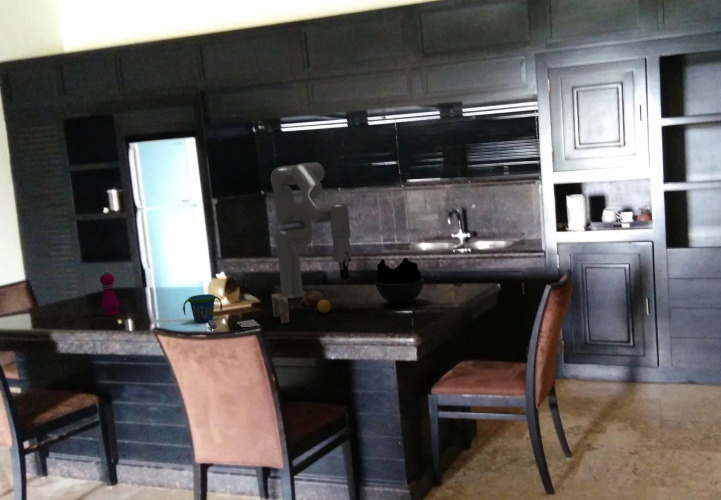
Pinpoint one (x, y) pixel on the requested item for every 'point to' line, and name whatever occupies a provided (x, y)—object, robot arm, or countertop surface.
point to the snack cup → (202, 307)
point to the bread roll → (312, 298)
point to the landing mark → (248, 323)
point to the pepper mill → (109, 295)
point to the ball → (324, 306)
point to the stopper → (212, 324)
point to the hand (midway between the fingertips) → (344, 279)
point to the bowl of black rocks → (399, 282)
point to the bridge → (280, 307)
